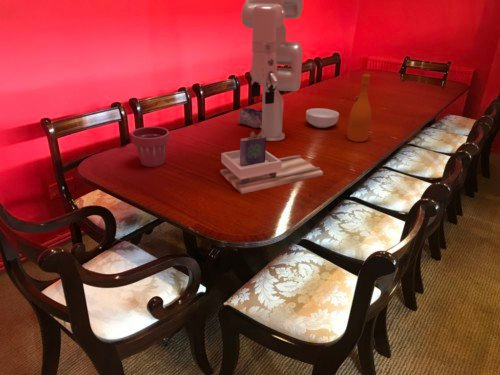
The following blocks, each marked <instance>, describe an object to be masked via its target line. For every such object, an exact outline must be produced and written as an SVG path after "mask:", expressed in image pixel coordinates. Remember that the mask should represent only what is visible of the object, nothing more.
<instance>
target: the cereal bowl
mask: <svg viewBox="0 0 500 375" xmlns="http://www.w3.org/2000/svg"><path fill="white" fill-rule="evenodd" d="M339 117H340V113H339V112H338V111H336V110H332V109H329V108H318V107H317V108H310V109H309V108H308V109H307V110H306V112H305V119H306V121H307V122H308V123H309V124H311V125H312V126H313V127H314V128H320V129H324V128H325V129H326V128H329V127H331V126H334V125H336V124H337V122H338V121H339Z"/></svg>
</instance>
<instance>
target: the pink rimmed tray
mask: <svg viewBox="0 0 500 375" xmlns="http://www.w3.org/2000/svg"><path fill="white" fill-rule="evenodd" d="M220 154H221V155H220V156H221V159H220V160H221V164H222V165H224V166H225V167H226V169H229V170H230V171H232V172H233V173H234V174H235V175H236V176H237V177H238V178H239V179H240V180H241V181H242V182H243V183H245V184H246V183H248V181H249V178H250V177H255V176H260V175H265V174H269V175H270V176H271V177H275V176H276V174H277V173H276V172H279V171H281V165H282V161H280V160H279V159H280V158H278V157H276V156H275V155H273V154H272V153H270V152H268V151H267V150H266V153H265V162H264V163H258V164H257V163H256V164H253V165H248V166H241V165H240V149H239V150H231V151H225V152H221V153H220Z"/></svg>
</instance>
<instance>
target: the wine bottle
mask: <svg viewBox="0 0 500 375" xmlns="http://www.w3.org/2000/svg"><path fill="white" fill-rule="evenodd" d="M370 80H371V75H370V74H369V73H364V74H362V79H361V89H360V93H359V94H358V95H357V96H355V99H354V101H353V106H352V108H351V109H350V112H349V115H348V122H347V123H348V124H347V133H346V138H347V139H348V141H349V140H350V141H352V142H354V143H357V142H358V143H362V142H363V143H364V142H366V141H367V140H368V138H369V134H370V130H371V129H370V128H371V125H372V124H371V122H372V108H371V105H370V104H371V103H370V101H369V96H368V95H369V94H368V91H369V85H370Z"/></svg>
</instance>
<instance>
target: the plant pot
mask: <svg viewBox="0 0 500 375" xmlns="http://www.w3.org/2000/svg"><path fill="white" fill-rule="evenodd" d="M130 133H131V134H130V135H131V136H130V137H131V143H132V144H133V146H135V149H136V152H137V155H138V157H139V160H140V164H141V165H142V166H145V167H149V168H154V167H160V166H161V165H164V163H165V161H166V155H167V150H168V149H167V148H168V143H169V142H170V132H169V129H167V128H165V127H160V126H145V127H139V128H136V129H134V130H133V131H131V132H130Z"/></svg>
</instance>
